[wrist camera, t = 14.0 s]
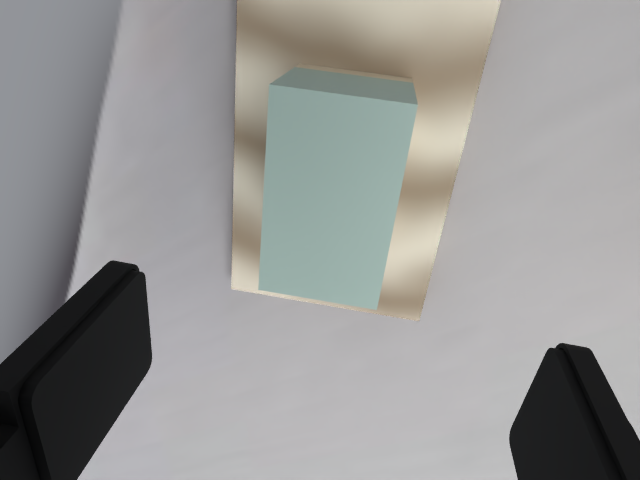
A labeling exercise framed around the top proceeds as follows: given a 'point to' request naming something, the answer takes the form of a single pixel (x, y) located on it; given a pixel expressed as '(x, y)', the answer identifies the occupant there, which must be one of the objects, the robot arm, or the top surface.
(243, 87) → the board
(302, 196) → the block
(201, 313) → the top surface
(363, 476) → the top surface
